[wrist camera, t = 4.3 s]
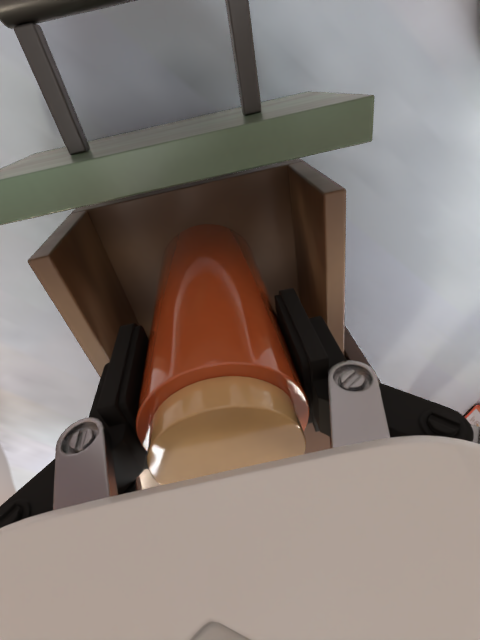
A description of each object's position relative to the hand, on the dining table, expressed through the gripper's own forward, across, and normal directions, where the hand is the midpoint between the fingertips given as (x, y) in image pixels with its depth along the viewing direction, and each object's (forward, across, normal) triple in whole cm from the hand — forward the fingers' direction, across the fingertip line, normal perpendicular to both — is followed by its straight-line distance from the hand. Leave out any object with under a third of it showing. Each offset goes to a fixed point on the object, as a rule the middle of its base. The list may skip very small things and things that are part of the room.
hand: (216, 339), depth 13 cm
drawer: (+7, 0, -2) cm, 7 cm away
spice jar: (+6, 0, 0) cm, 6 cm away
